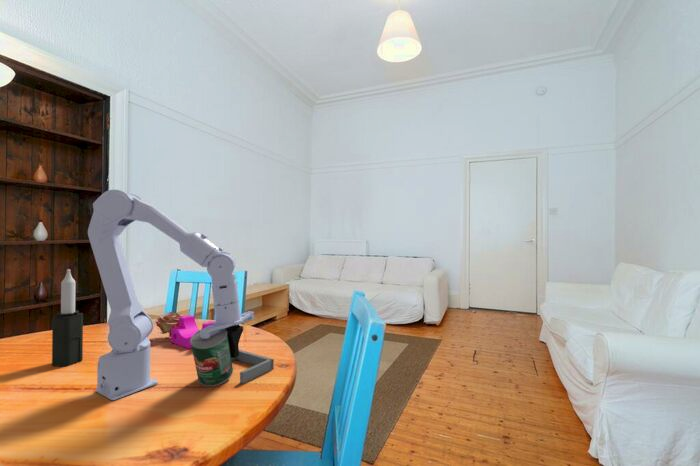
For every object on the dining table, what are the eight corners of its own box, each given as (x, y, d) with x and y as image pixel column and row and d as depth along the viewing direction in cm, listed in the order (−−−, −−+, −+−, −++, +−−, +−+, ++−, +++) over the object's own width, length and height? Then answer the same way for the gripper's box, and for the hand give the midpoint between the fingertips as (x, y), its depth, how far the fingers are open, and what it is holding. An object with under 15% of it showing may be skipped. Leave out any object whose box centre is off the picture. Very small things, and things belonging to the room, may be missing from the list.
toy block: (171, 342, 106) (171, 319, 106) (189, 337, 111) (189, 315, 111) (198, 351, 98) (198, 326, 98) (217, 346, 103) (217, 321, 103)
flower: (156, 334, 113) (156, 311, 113) (186, 331, 117) (187, 309, 117) (153, 343, 104) (153, 318, 104) (185, 339, 108) (186, 315, 108)
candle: (65, 367, 85) (66, 270, 85) (49, 365, 86) (50, 269, 86) (84, 359, 90) (85, 268, 90) (69, 358, 91) (70, 267, 91)
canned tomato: (235, 360, 84) (230, 324, 80) (230, 384, 77) (223, 345, 73) (202, 364, 83) (195, 327, 79) (193, 388, 75) (185, 349, 72)
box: (242, 383, 77) (243, 373, 77) (205, 370, 84) (205, 360, 84) (273, 368, 86) (273, 359, 86) (236, 357, 93) (237, 348, 93)
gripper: (211, 312, 72) (218, 372, 73) (260, 295, 85) (266, 347, 85) (191, 310, 76) (198, 368, 76) (241, 294, 88) (247, 344, 89)
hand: (233, 356), depth 81 cm, fingers closed, pressing on canned tomato
